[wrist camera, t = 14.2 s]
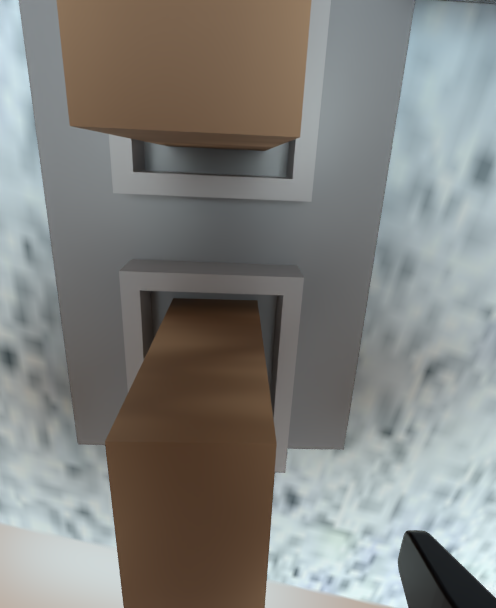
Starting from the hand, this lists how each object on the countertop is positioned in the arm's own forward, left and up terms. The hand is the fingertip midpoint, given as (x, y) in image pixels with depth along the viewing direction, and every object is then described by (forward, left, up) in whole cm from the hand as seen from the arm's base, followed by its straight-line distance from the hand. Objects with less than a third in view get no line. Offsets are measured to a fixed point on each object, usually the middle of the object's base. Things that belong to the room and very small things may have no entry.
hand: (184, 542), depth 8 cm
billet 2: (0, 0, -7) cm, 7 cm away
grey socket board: (0, -5, -8) cm, 10 cm away
